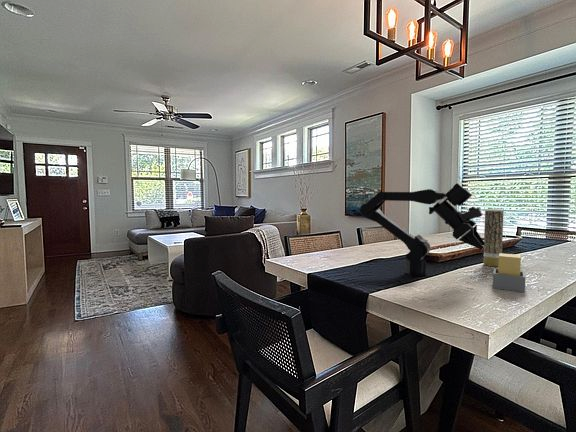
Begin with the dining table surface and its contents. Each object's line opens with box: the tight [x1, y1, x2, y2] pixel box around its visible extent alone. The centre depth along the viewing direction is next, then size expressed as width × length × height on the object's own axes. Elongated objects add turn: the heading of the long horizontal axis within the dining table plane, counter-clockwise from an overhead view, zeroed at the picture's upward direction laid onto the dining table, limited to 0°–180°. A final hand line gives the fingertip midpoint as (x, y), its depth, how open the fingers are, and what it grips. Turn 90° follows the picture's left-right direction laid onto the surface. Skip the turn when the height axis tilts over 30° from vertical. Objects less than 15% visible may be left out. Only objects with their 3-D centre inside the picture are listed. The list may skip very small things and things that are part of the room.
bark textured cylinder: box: [482, 208, 504, 268], centre depth 138 cm, size 7×7×25 cm
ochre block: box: [497, 252, 522, 276], centre depth 107 cm, size 6×6×11 cm
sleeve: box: [492, 267, 527, 293], centre depth 107 cm, size 9×9×5 cm
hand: (483, 246), depth 111 cm, fingers open, 9 cm apart
